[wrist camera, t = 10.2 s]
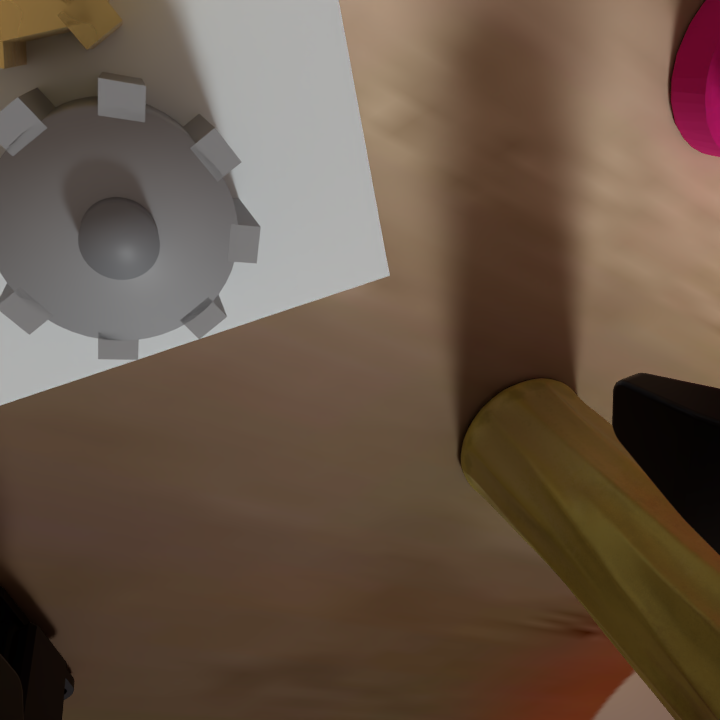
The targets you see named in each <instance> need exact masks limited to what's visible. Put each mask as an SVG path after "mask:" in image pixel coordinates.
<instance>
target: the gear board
mask: <svg viewBox="0 0 720 720" xmlns="http://www.w3.org/2000/svg"><path fill="white" fill-rule="evenodd" d="M109 4H110V5H111V6H112V8H113V9H114V10H115V11H116V13H117V14H118V15H119V16H120V18H121V19H122V26H120V27H119V28H118V29H117V30H115V31H114V32H113V33H112V34H111V35H109V36H108V37H107V38H106V39H105V40H103V41H102V42H101V43H100V44H99V45H97V46H96V47H95V48H94V49H89V50H86V49H85V47H84V46H83V45H82V44H81V43H80V41H79V40H78V39H77V38H76V37H75V35H74V34H73V33H72V32H67V33H63V34H58V35H54V36H49V37H45V38H40V39H36V40H31V41H27V42H26V57H27V64H25V65H20V66H16V67H11V68H6V69H3V68H0V405H3V404H6V403H9V402H12V401H15V400H18V399H21V398H24V397H27V396H30V395H33V394H36V393H39V392H42V391H45V390H48V389H51V388H54V387H57V386H60V385H63V384H66V383H69V382H72V381H75V380H78V379H81V378H84V377H87V376H90V375H93V374H96V373H99V372H102V371H105V370H108V369H111V368H114V367H117V366H120V365H123V364H126V363H129V362H132V361H135V360H138V359H141V358H144V357H147V356H150V355H153V354H156V353H159V352H162V351H165V350H168V349H171V348H174V347H177V346H180V345H183V344H186V343H189V342H192V341H195V340H198V339H201V338H204V337H207V336H210V335H213V334H216V333H219V332H222V331H225V330H228V329H231V328H234V327H237V326H240V325H243V324H246V323H249V322H252V321H255V320H258V319H261V318H264V317H267V316H270V315H273V314H276V313H279V312H282V311H285V310H288V309H291V308H294V307H297V306H300V305H303V304H306V303H309V302H312V301H315V300H318V299H321V298H324V297H327V296H330V295H333V294H336V293H339V292H342V291H345V290H348V289H351V288H354V287H357V286H360V285H363V284H366V283H369V282H372V281H375V280H378V279H381V278H384V277H387V276H390V275H389V269H388V264H387V259H386V253H385V248H384V242H383V237H382V232H381V226H380V221H379V216H378V210H377V205H376V199H375V194H374V189H373V183H372V178H371V172H370V167H369V162H368V156H367V151H366V145H365V140H364V135H363V129H362V124H361V118H360V113H359V108H358V102H357V97H356V91H355V86H354V81H353V75H352V70H351V64H350V59H349V54H348V48H347V43H346V37H345V32H344V27H343V21H342V16H341V10H340V5H339V0H110V1H109Z"/></svg>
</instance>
